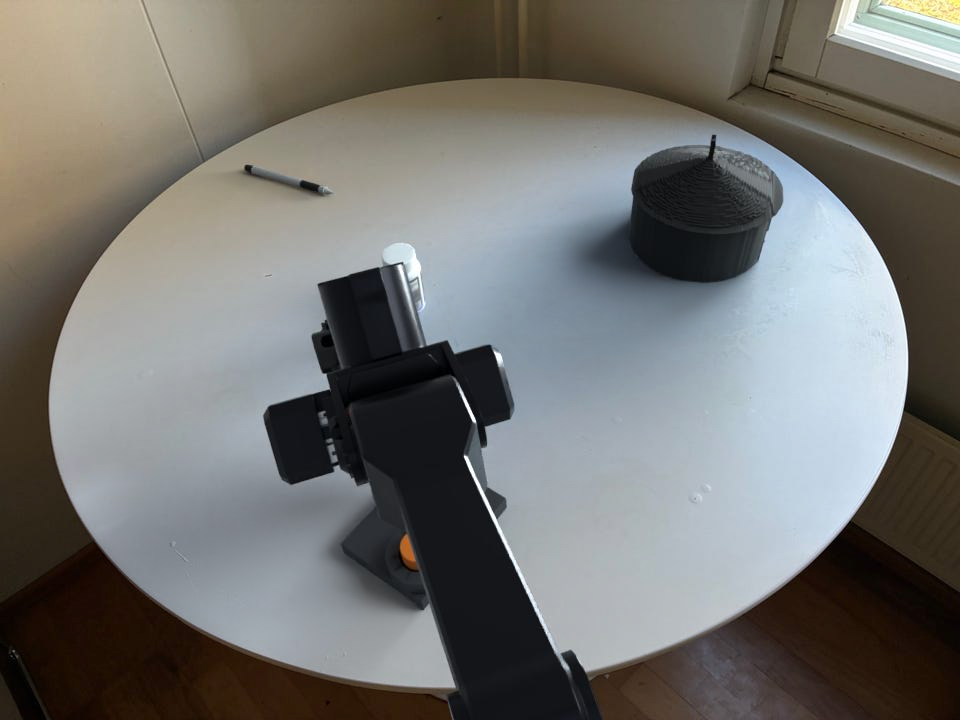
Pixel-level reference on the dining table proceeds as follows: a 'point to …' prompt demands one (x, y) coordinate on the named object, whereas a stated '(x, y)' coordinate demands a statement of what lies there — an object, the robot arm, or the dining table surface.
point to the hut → (702, 211)
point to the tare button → (408, 553)
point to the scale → (395, 551)
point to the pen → (288, 179)
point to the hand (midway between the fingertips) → (385, 404)
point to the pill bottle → (407, 269)
